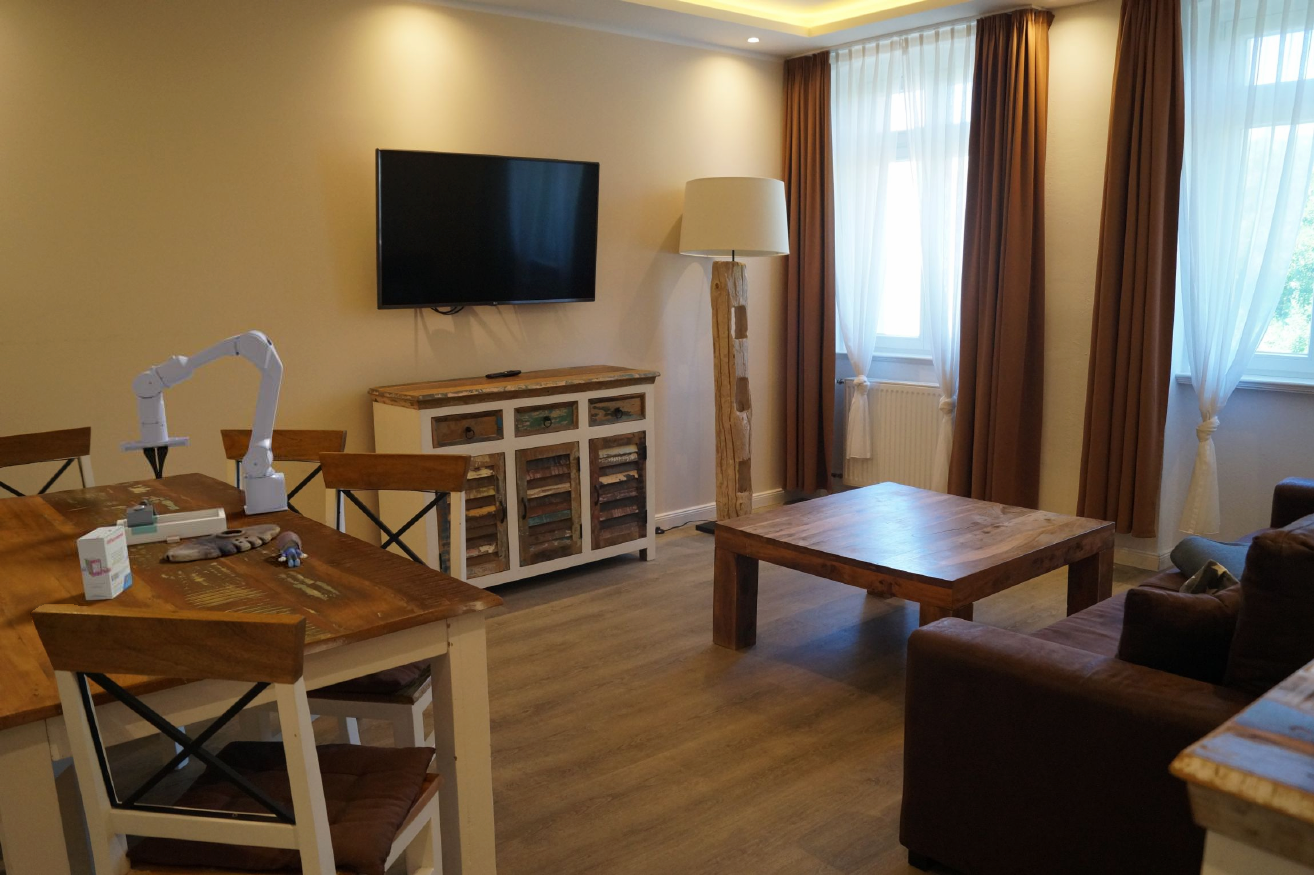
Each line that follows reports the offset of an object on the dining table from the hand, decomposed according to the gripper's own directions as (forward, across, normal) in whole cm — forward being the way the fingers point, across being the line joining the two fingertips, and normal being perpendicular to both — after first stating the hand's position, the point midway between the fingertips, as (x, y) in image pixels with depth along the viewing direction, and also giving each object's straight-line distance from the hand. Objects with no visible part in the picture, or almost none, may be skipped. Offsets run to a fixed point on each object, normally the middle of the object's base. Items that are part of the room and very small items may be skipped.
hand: (159, 478), depth 232 cm
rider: (+8, +4, +17) cm, 19 cm away
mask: (+10, -12, +35) cm, 38 cm away
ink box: (+10, +9, +56) cm, 58 cm away
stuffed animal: (+11, +4, +4) cm, 12 cm away
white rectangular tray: (+10, -2, +19) cm, 21 cm away
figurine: (+10, -24, +51) cm, 57 cm away
